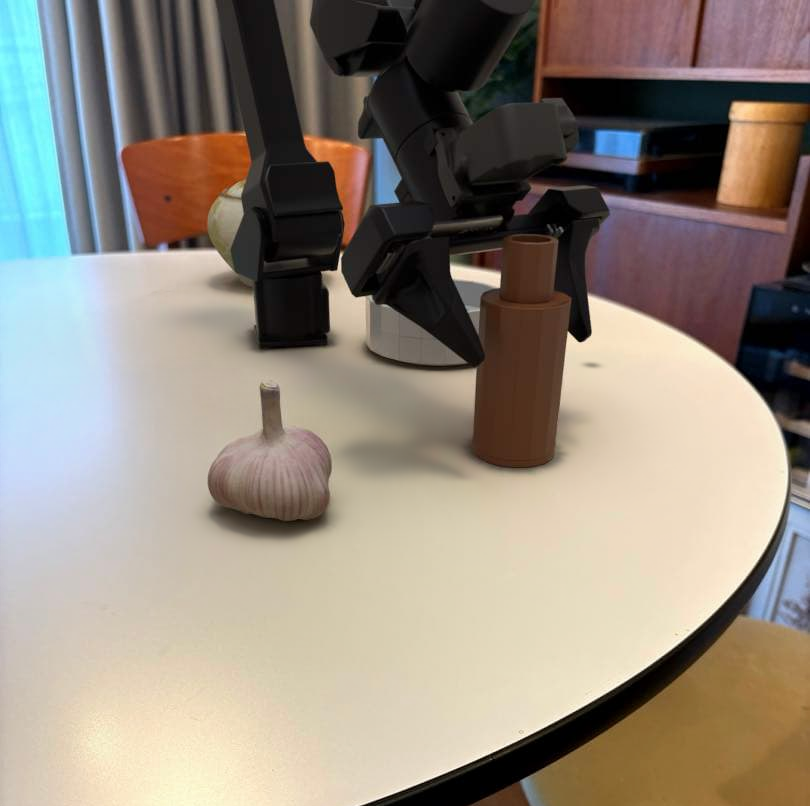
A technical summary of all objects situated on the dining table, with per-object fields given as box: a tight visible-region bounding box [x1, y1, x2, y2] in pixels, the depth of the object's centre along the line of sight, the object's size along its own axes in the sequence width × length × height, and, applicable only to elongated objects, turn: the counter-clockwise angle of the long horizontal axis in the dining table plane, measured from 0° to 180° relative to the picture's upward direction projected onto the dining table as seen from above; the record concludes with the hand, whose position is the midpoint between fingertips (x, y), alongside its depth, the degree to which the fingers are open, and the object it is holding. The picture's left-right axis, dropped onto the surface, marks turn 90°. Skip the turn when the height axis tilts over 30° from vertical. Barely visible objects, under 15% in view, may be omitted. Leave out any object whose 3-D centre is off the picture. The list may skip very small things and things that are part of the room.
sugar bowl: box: [206, 179, 253, 288], centre depth 97 cm, size 20×15×15 cm
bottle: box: [472, 234, 571, 468], centre depth 54 cm, size 6×6×14 cm
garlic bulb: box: [207, 380, 333, 522], centre depth 48 cm, size 8×7×8 cm
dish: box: [365, 278, 500, 367], centre depth 76 cm, size 13×13×5 cm
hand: (535, 350), depth 53 cm, fingers open, 9 cm apart
